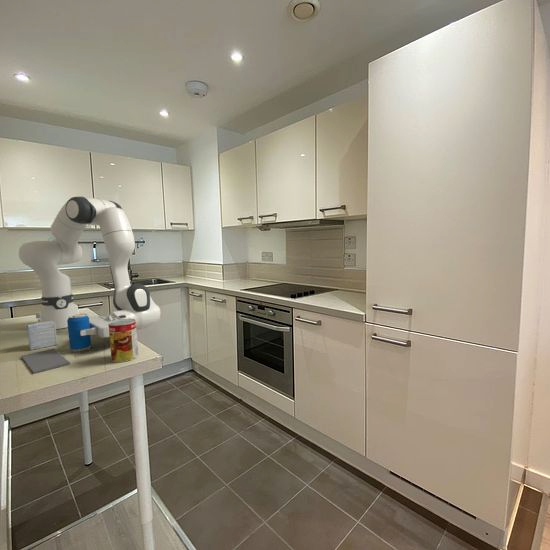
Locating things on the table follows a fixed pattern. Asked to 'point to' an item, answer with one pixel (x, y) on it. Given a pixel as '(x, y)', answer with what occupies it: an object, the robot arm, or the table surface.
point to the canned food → (123, 339)
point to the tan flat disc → (81, 351)
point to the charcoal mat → (44, 360)
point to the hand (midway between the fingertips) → (76, 331)
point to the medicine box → (41, 335)
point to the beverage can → (74, 326)
